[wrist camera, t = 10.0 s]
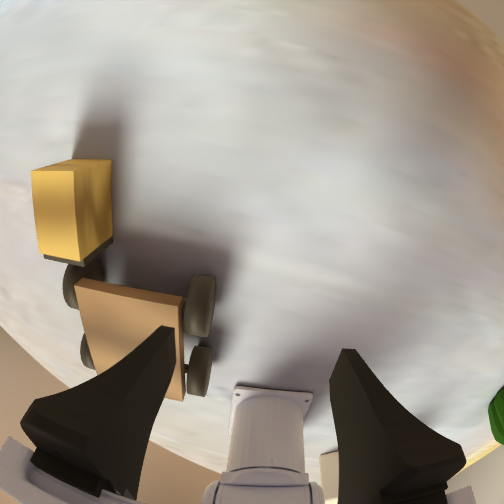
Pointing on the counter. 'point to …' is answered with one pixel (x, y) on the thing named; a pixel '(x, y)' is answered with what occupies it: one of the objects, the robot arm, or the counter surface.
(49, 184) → the block
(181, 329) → the trolley
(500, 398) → the bell pepper
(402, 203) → the counter surface
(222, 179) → the counter surface
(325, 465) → the container
